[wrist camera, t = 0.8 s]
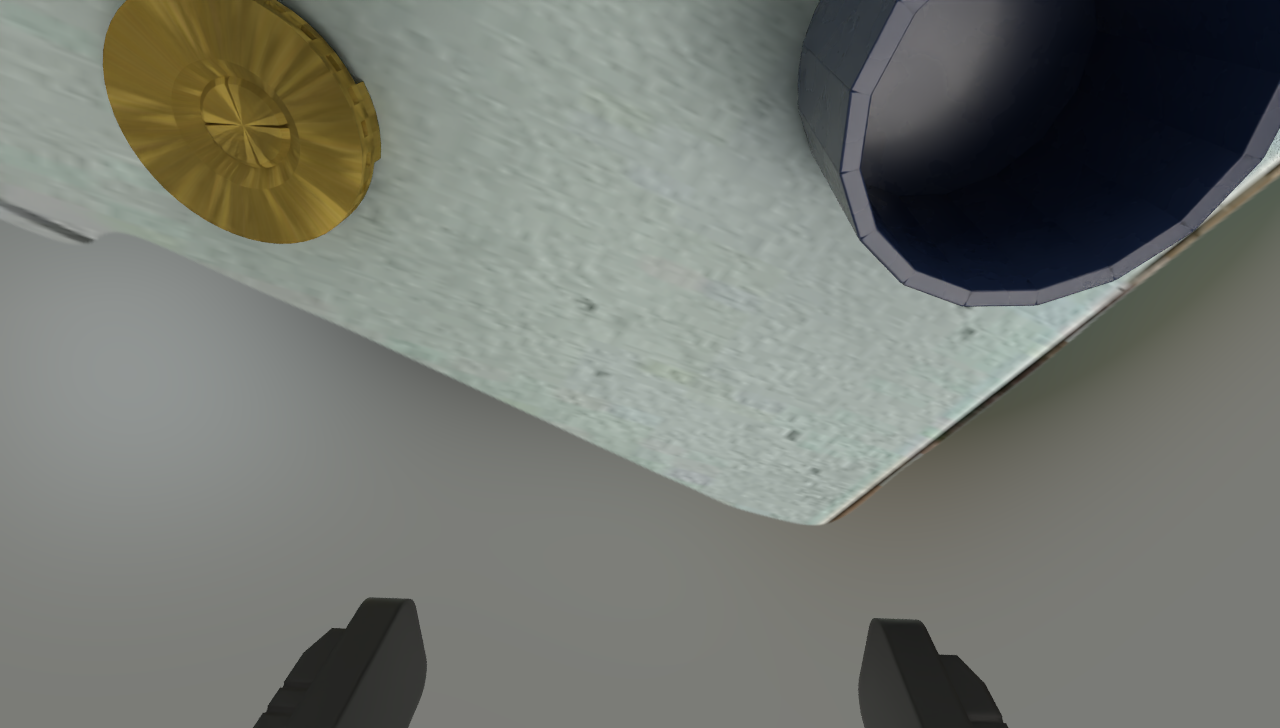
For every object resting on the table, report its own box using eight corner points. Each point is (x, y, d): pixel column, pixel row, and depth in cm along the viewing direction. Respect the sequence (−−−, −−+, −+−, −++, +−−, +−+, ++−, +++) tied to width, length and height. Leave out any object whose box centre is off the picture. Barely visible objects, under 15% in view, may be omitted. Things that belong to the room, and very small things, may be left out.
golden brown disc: (189, -91, 26) (153, -93, 24) (424, 117, 30) (408, 128, 29) (107, 115, 31) (72, 126, 30) (316, 267, 36) (296, 284, 34)
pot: (758, -14, 26) (790, 11, 18) (1097, -195, 22) (1352, -276, 14) (839, 242, 33) (892, 351, 24) (1114, 138, 29) (1293, 224, 20)
